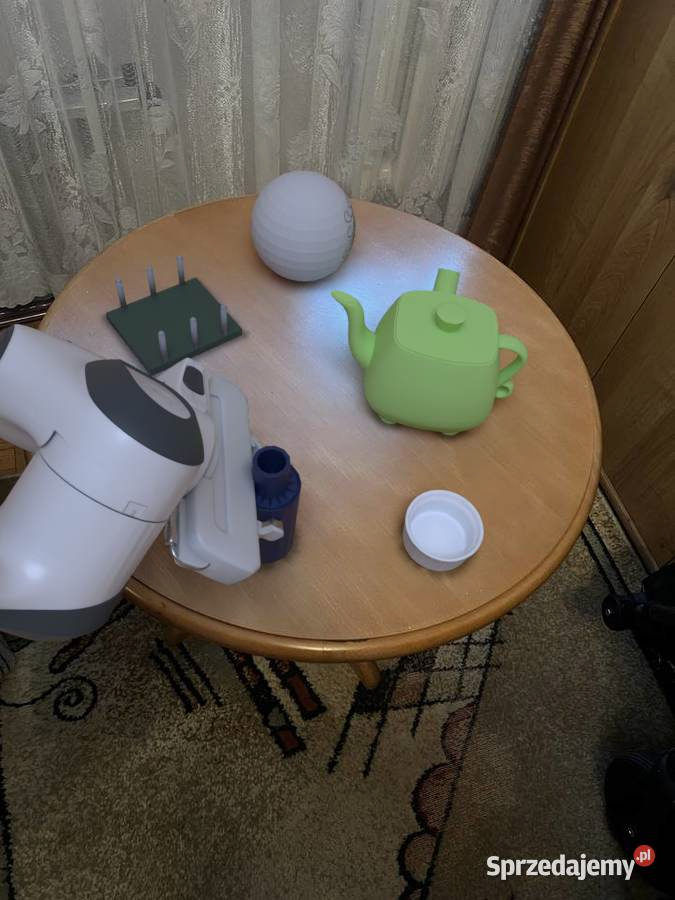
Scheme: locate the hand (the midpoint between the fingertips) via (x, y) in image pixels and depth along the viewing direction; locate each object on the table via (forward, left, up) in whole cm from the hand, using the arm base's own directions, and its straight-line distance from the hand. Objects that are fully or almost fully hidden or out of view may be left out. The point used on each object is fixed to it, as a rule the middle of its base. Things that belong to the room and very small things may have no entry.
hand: (275, 498), depth 65 cm
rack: (+8, +34, -10) cm, 36 cm away
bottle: (-1, 0, -9) cm, 9 cm away
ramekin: (+16, -11, -10) cm, 21 cm away
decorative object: (+30, +35, -10) cm, 47 cm away
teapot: (+30, +9, -10) cm, 32 cm away
